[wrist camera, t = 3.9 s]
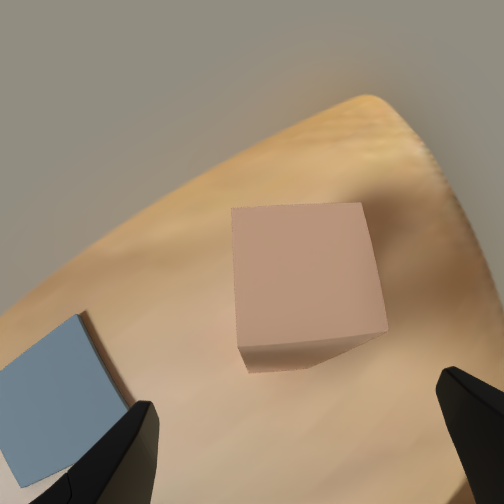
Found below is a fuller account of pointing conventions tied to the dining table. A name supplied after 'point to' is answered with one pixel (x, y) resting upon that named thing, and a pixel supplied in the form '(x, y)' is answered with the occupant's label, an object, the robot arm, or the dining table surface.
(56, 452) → the mat
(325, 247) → the block
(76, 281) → the dining table surface
